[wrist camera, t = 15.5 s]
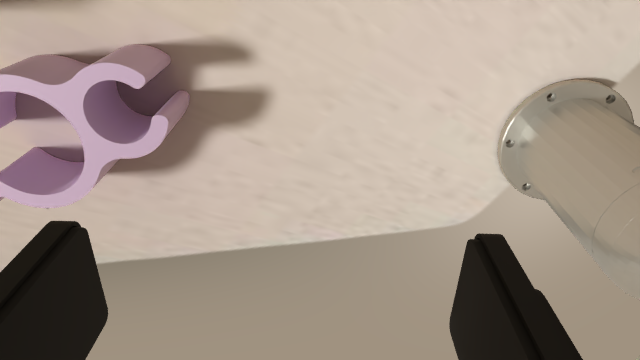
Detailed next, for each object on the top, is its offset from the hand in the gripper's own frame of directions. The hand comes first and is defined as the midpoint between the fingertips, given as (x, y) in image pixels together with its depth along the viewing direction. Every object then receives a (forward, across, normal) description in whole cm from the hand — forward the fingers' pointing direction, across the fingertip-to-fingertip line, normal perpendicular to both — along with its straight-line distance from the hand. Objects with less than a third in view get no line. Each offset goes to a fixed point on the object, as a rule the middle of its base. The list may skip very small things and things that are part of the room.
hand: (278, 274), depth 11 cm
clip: (+34, +22, +8) cm, 41 cm away
